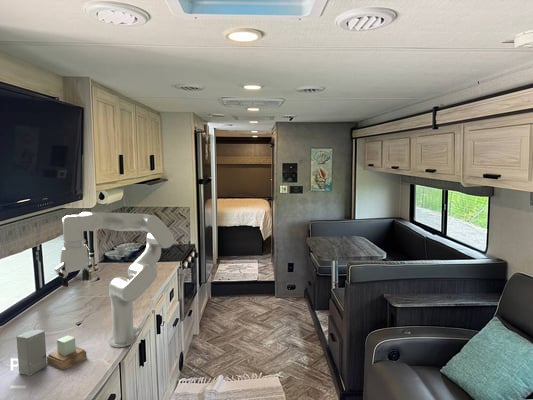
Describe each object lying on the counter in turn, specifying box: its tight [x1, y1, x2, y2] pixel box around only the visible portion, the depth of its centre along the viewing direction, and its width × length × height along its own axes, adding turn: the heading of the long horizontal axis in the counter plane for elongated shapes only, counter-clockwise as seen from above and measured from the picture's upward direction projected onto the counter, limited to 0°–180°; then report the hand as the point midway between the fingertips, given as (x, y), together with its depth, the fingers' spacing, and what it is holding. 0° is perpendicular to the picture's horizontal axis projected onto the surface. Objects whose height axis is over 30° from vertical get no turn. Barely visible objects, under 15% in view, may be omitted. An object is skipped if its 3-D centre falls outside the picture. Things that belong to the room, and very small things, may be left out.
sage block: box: [56, 334, 77, 356], centre depth 160 cm, size 5×5×6 cm
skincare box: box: [15, 328, 48, 377], centre depth 153 cm, size 8×7×16 cm
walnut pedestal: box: [46, 346, 88, 371], centre depth 160 cm, size 11×11×4 cm
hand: (76, 282), depth 159 cm, fingers open, 9 cm apart
